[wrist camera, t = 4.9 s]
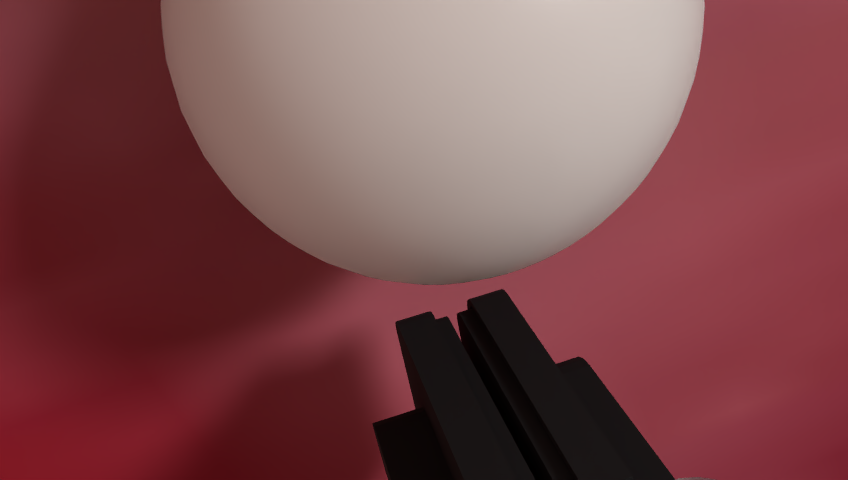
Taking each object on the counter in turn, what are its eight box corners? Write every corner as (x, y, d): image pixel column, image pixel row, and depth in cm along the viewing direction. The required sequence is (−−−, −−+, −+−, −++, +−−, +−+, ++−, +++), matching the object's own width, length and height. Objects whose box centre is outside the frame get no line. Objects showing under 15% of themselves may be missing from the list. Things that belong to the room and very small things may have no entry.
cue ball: (953, -159, 5) (592, -407, 8) (86, 35, 4) (54, -320, 8) (729, 300, 10) (549, 23, 13) (277, 438, 9) (206, 107, 12)
